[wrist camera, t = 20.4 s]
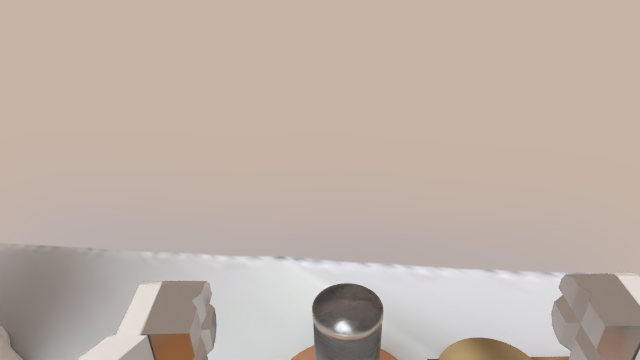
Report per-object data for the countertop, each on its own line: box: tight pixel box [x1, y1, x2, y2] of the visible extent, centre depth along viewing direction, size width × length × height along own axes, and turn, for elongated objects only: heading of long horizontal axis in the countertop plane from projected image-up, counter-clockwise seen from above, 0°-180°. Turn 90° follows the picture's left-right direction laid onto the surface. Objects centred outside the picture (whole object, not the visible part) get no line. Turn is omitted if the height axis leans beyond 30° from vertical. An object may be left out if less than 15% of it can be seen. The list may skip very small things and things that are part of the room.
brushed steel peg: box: [312, 283, 383, 360], centre depth 37 cm, size 5×5×11 cm
